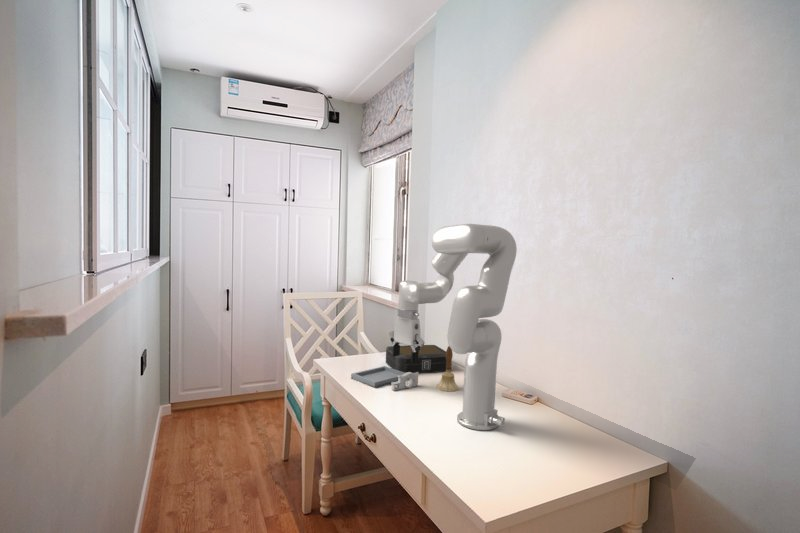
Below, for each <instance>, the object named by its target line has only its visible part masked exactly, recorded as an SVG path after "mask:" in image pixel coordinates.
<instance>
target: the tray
mask: <svg viewBox="0 0 800 533" xmlns="http://www.w3.org/2000/svg"><path fill="white" fill-rule="evenodd" d="M403 374H405V373H404V372H401V371H398V370H395V369H392V368H391V367H390V366H386V365H383V366H379V367H378V366H377V367H373V368H371V369H370V368H369V369H366V370H362V371H357V372H353V373H351V374H350V379H351V380H353V379H354V380H353V381H356V382H358V381H359V383H360V384H363V383H364V385H366V386H369V387H371V388H374V389H376V388H380V387H383V386H386V385H390V384H391V382H397V381H398V376H399V375H403ZM391 385H392V384H391Z"/></svg>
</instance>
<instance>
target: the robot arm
mask: <svg viewBox="0 0 800 533" xmlns="http://www.w3.org/2000/svg"><path fill="white" fill-rule="evenodd" d="M431 246H432V248H433V250H434V252H436V253H435V254H434V256H433V257H432V260H431V265H432V268H433V269H434V270H435V271H436V272H437V273H438V274H439V276H438V277H437V278H436V280H435V281H434V282H418V281H415V280H401V281H400V283H399V286H398V287H399V288H398V303H397V304H398V305H397V316H396V318H395V323H394V329H393V331H391V332H389V337H390V341H391V346H393V356H399V355H400V346H401V345H400V344H402V345H404V346H411V348H412V350H413V352H412V354H411V362H412V363H414V362H418V354H419V351H420V350H421V349H422V348H423V345H425V344H426V342H425V341H424V340H423V338H421V322H420V318H418V317H420V313H419V305H425V304H438V303H439V302H442V300H444V299H445V297H447V295H448V294H449V293H450V291H451V290H452V289H453V286H454V280H455V276H454V273H455V271H456V270H457V269H458V267H459V266H460V265H461V264H462V263H463V262H464V260H465V258H466V257H468V255H469V254H481V255H482V254H486V255H489V257H488V258H487V259H486V261H485V262H484V263H483V266H482V268H481V269H480V276H479V279H478V283H477V284H476V285H467V286H464V287H462V288H460V290H459V291H458V292H456V294H455V295H454V296H455V297H454V299H453V303H452V309H451V313H450V318H449V322H448V327H447V334H446V336H447V342H448V346H450V348H451V350H452V352H453V353H455V354H458V355H466V358H465V362H464V374H463V375H464V377H463V394H462V395H463V397H462V398H463V399H462V411H461V412H459V413H458V414H457V416H456V421H457V423H459V425H461V426H462V427H465V428H468V429H471V430H476V431H491V430H494V429H497V428H498V427H500V428H503V427H504V425H505V417H503V416H501V415H499V414H498V409H496V408H495V406H496V404H495V403H496V402H495V401H496V382H497V368H498V358H499V357H498V356H499V351H500V347H501V344H502V331H501V328H500V326H499V325H498V323H497V322H495V321H493V319H492V320H491V319H487V318H492V317H497V316H499V315H500V314H501V312H502V311H503V309H504V307H505V306H504V305H505V300H506V297H507V292H508V289H509V284H510V279H511V274H512V271H513V267H514V264H515V261H516V258H517V242H516V240H515V238H514V236H513V235H512V233H511V232H509V231H508V230H507V229H506V228H503V227H500V226H496V225H491V224H490V225H489V224H488V225H487V224H479V223H477V224H476V223H462V224H455V225H448V226H445V225H444V226H442V227H439V228H437V229H436V231H434V233H433V235H432V238H431ZM414 346H415V347H416V348H415V347H414Z"/></svg>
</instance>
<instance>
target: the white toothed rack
mask: <svg viewBox="0 0 800 533" xmlns="http://www.w3.org/2000/svg"><path fill="white" fill-rule="evenodd" d="M419 375H420V373H418V372H416V373H411V372H407V373H405V374H403V375H399V376H398V381H397V382H391V390H392V391H393V392H394V391H399V390H403V389H410V388H411V389H412V388H413V387H417V386H419Z"/></svg>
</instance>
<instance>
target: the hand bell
mask: <svg viewBox="0 0 800 533" xmlns="http://www.w3.org/2000/svg"><path fill="white" fill-rule="evenodd" d="M445 351H446V361H447V367H446V372H442V376H441V380H440V381H439V383H438V384H437V385H436V389H438V390H440V391H442V392H456V391H458V390H459V387H458V385H457V384H456V380H455V374H454V373H453V372H452V364H451V361H452V362H453V353H454V352H453V351H452V350H451V348H450V346H449V345H448V346H447V349H446V350H445Z"/></svg>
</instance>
